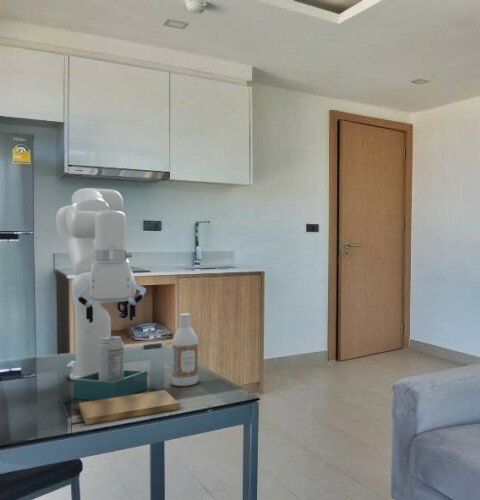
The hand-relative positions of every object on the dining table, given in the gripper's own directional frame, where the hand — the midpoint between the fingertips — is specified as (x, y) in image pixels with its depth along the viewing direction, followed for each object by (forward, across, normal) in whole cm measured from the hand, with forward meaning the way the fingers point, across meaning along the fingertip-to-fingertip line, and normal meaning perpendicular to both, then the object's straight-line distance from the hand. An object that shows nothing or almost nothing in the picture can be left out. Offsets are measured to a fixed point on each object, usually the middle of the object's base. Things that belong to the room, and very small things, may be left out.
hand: (111, 320), depth 142 cm
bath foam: (+20, -19, -3) cm, 27 cm away
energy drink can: (+20, 0, -1) cm, 20 cm away
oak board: (+20, -4, +16) cm, 26 cm away
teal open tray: (+20, 0, -1) cm, 20 cm away
